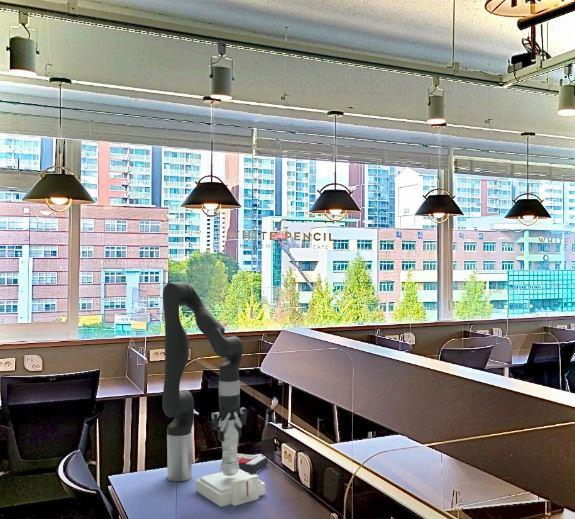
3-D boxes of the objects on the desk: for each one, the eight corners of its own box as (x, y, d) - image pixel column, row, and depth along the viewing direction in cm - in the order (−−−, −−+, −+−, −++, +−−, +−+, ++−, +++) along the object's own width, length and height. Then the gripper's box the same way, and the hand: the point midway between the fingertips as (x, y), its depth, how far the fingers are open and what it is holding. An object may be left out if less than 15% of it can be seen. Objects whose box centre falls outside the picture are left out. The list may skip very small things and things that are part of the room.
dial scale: (196, 490, 216) (196, 468, 216) (239, 479, 226) (238, 458, 226) (224, 509, 199) (224, 485, 199) (269, 497, 209) (269, 474, 209)
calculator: (236, 452, 249) (267, 455, 242) (237, 462, 249) (268, 466, 242) (221, 460, 239) (254, 463, 233) (222, 471, 239) (254, 474, 232)
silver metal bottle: (242, 472, 216) (241, 417, 216) (234, 479, 209) (234, 422, 210) (225, 470, 218) (225, 415, 218) (217, 477, 212) (217, 420, 212)
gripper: (241, 388, 221) (241, 433, 221) (206, 393, 213) (206, 440, 213) (251, 391, 215) (252, 438, 215) (216, 397, 207) (217, 445, 207)
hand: (229, 439), depth 214 cm, fingers closed on silver metal bottle, 6 cm apart
